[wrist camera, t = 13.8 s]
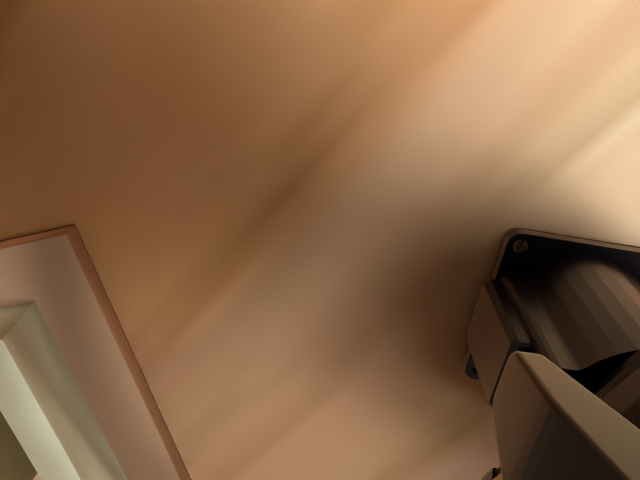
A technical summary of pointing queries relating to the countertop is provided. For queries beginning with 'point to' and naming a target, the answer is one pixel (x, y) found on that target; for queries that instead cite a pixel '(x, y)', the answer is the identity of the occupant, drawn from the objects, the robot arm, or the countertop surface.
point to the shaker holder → (74, 370)
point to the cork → (13, 456)
